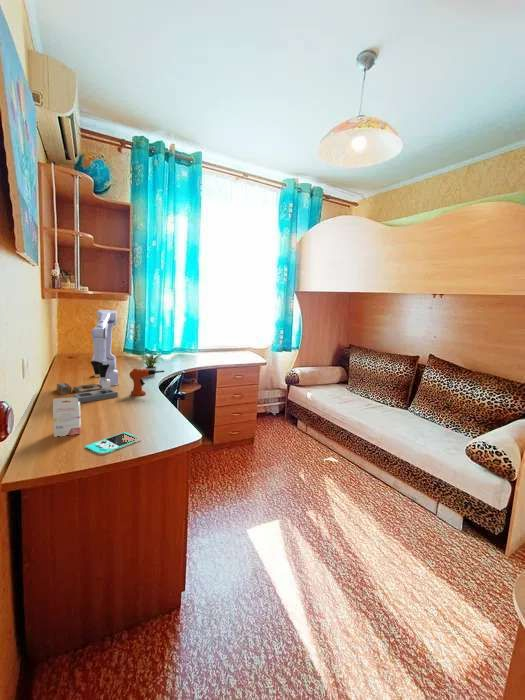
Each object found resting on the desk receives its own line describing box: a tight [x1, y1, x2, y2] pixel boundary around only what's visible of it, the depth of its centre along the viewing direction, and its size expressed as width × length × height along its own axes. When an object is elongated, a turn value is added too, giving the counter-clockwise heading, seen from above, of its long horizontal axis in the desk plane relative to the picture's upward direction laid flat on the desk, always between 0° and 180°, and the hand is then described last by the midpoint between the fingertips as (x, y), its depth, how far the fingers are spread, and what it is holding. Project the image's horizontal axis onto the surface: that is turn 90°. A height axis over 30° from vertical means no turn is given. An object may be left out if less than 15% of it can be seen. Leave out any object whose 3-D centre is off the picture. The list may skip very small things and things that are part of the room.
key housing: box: [56, 382, 72, 395], centre depth 169 cm, size 4×10×4 cm, turn 46°
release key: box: [58, 382, 68, 387], centre depth 170 cm, size 2×9×2 cm, turn 46°
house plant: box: [142, 352, 160, 378], centre depth 211 cm, size 14×14×16 cm
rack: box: [73, 388, 119, 404], centre depth 163 cm, size 18×8×2 cm, turn 136°
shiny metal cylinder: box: [101, 379, 111, 394], centre depth 166 cm, size 4×4×9 cm
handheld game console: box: [84, 431, 137, 453], centre depth 115 cm, size 10×16×1 cm, turn 148°
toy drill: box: [128, 368, 165, 397], centre depth 173 cm, size 5×19×15 cm, turn 100°
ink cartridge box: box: [52, 397, 82, 438], centre depth 120 cm, size 9×5×15 cm, turn 114°
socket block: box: [73, 383, 102, 394], centre depth 172 cm, size 10×10×2 cm
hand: (100, 375), depth 167 cm, fingers open, 7 cm apart
